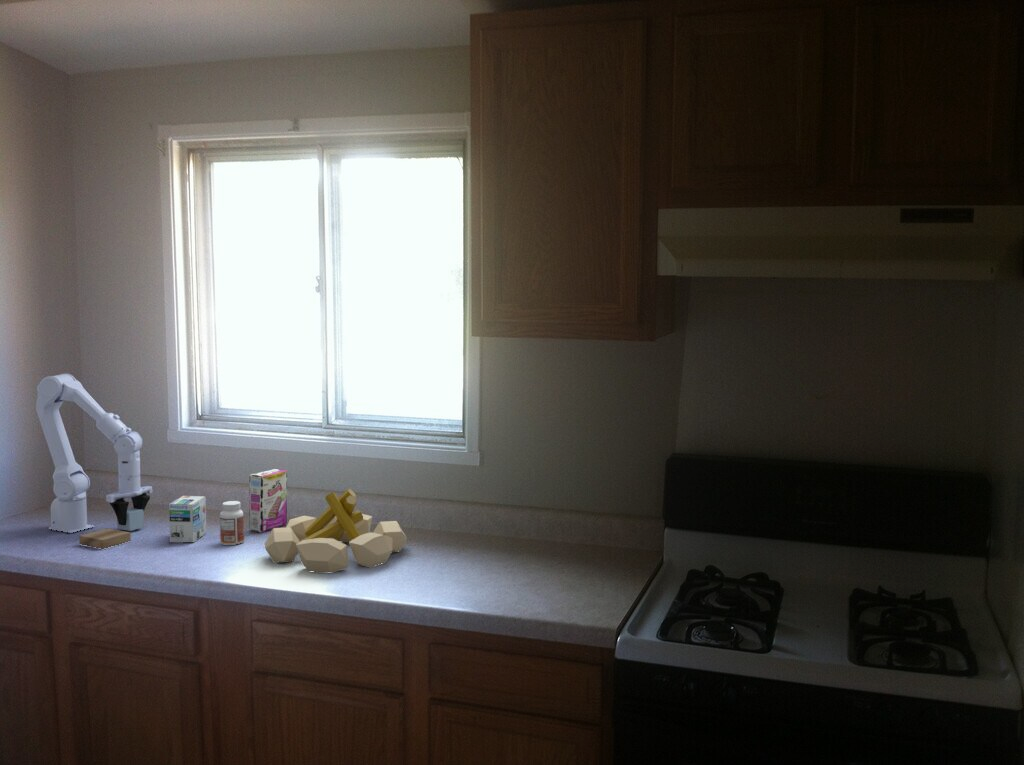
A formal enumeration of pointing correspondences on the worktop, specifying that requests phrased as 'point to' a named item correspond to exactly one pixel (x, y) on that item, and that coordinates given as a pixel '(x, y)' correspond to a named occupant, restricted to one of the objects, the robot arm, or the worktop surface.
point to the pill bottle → (231, 523)
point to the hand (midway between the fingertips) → (130, 522)
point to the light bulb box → (187, 518)
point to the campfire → (335, 538)
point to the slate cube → (133, 519)
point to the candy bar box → (268, 500)
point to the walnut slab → (104, 538)
